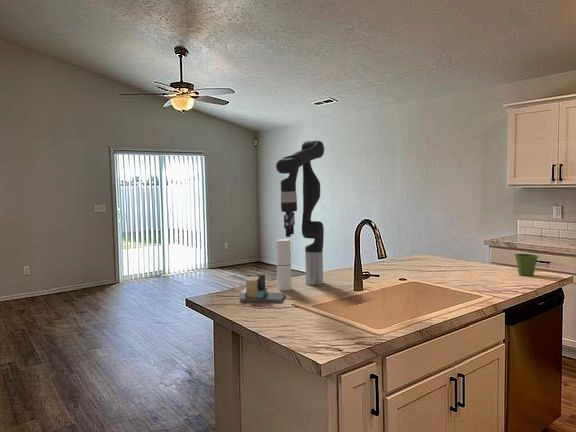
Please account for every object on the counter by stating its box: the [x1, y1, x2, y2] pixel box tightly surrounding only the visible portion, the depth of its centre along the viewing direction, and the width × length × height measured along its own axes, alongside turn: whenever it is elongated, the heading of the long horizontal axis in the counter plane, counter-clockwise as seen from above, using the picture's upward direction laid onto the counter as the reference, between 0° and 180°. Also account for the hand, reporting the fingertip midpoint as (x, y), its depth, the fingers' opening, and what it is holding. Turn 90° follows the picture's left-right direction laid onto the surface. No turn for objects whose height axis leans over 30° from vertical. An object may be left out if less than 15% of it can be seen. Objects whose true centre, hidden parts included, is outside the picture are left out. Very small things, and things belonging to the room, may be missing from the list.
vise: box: [239, 287, 286, 304], centre depth 202 cm, size 12×19×4 cm, turn 80°
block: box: [245, 276, 259, 298], centre depth 202 cm, size 8×5×8 cm, turn 170°
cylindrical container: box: [275, 238, 292, 291], centre depth 219 cm, size 7×7×25 cm
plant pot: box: [514, 253, 540, 277], centre depth 240 cm, size 12×12×11 cm
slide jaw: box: [257, 273, 268, 298], centre depth 201 cm, size 11×3×10 cm, turn 170°
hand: (289, 235), depth 204 cm, fingers open, 8 cm apart
